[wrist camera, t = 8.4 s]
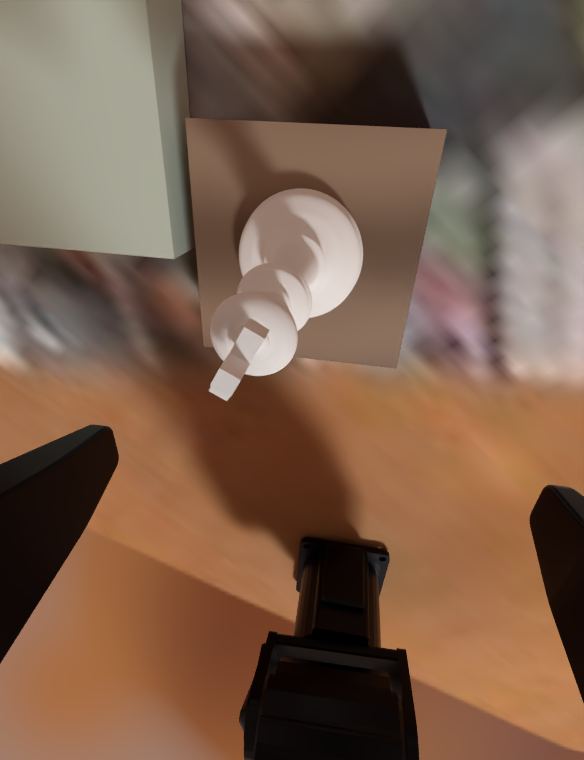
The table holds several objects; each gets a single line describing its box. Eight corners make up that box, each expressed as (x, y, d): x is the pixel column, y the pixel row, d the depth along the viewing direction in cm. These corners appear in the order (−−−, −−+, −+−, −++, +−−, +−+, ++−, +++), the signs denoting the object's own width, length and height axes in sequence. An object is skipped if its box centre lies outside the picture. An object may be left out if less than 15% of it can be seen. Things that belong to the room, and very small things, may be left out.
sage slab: (199, 244, 19) (174, 259, 16) (32, 231, 20) (-17, 242, 17) (180, -8, 14) (141, -43, 12) (-36, -9, 15) (-117, -42, 13)
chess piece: (389, 235, 14) (428, 350, 6) (319, 335, 17) (277, 517, 8) (277, 159, 14) (140, 168, 5) (222, 275, 16) (69, 408, 8)
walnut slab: (391, 340, 20) (396, 368, 17) (222, 322, 21) (203, 346, 18) (432, 133, 15) (446, 129, 13) (213, 123, 16) (185, 117, 14)
